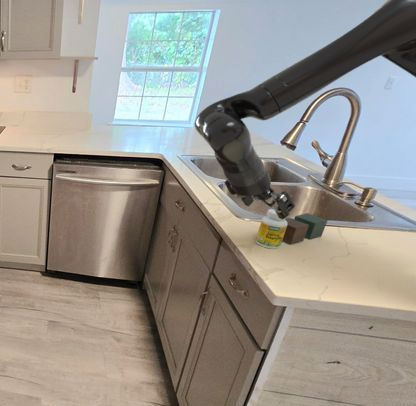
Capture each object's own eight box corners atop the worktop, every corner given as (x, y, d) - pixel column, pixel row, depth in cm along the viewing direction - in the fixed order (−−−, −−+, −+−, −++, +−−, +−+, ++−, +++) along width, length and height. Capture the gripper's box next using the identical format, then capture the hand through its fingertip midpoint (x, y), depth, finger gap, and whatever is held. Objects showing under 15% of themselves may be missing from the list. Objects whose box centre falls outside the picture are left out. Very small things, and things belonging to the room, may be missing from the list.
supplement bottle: (273, 240, 100) (284, 208, 96) (284, 250, 95) (295, 217, 91) (251, 238, 101) (261, 207, 97) (260, 248, 96) (271, 215, 92)
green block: (321, 236, 101) (327, 220, 99) (309, 239, 99) (315, 223, 97) (301, 228, 105) (307, 213, 103) (289, 231, 104) (295, 215, 102)
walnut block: (303, 241, 99) (309, 225, 97) (290, 244, 97) (296, 228, 95) (283, 233, 103) (289, 217, 101) (271, 236, 102) (276, 220, 100)
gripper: (289, 169, 78) (308, 209, 86) (228, 152, 90) (249, 189, 98) (265, 195, 78) (285, 233, 86) (207, 175, 91) (229, 210, 99)
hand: (266, 209), depth 92 cm, fingers open, 8 cm apart
